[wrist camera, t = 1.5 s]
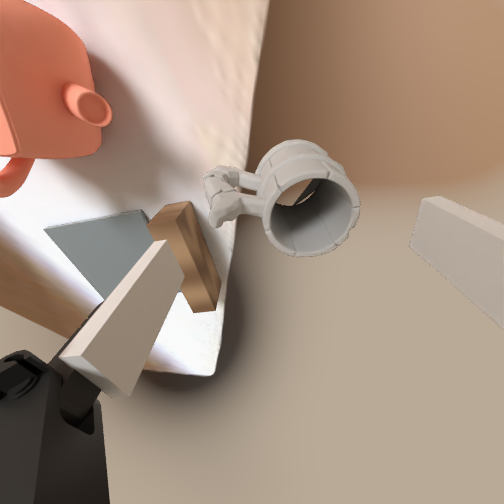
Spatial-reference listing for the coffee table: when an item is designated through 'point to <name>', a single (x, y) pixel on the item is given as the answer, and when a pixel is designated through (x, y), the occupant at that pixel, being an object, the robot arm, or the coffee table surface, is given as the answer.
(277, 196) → the mug
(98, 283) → the plate
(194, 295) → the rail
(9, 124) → the teapot
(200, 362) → the coffee table surface
